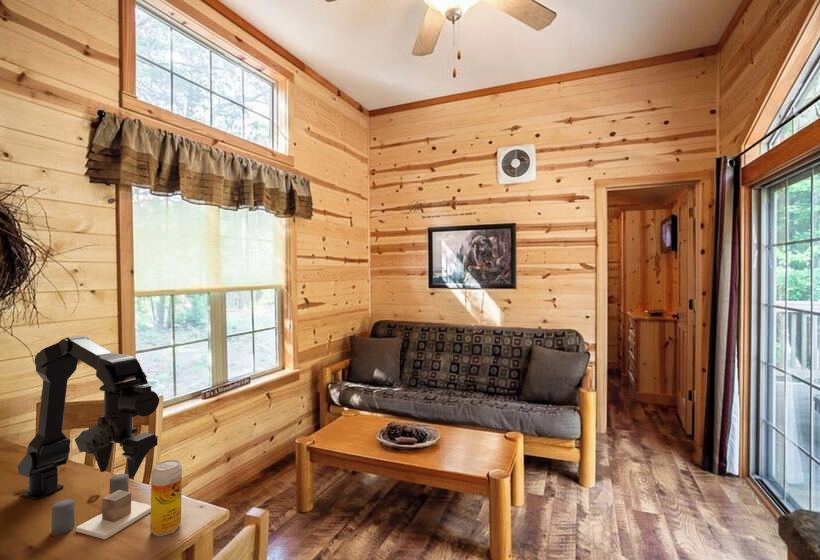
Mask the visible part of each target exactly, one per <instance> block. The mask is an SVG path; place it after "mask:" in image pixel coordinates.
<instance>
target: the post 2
mask: <svg viewBox="0 0 820 560" xmlns="http://www.w3.org/2000/svg"><path fill="white" fill-rule="evenodd" d="M129 479H130V478H129V475H128V473H120V474H115V475H113V476H112V477H110V478H109V494H108V495H110V494H112V493H114V492H116V491H118V490H123V491H127V492H129V481H130V480H129Z"/></svg>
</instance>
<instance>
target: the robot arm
mask: <svg viewBox="0 0 820 560" xmlns="http://www.w3.org/2000/svg"><path fill="white" fill-rule="evenodd" d="M79 361H81V362H82V363H84V364H85V365H87V366H89V367H91V368H93V369H94V370H95V377H96V378H97V379H98V380H100V382H102V385H101V386H100V387H99V391H102V392H104V393H103V394H104V395H103V396H104V397H103V400H104V401H103V415H100V416H99V418H97V424H96V425H95V426H93V427H90V428H88V429H85V430H82V431H81V433H80V434H79V435H78V436H77V437H75V438H74V442H75V444H76V446H77V448H78V451H79V452H80V453H87V454H89V455H91V454H93V457H94V458H95V461H96V464H97V466H98V469H99V472H100V473H104V472H106V471H107V469H108V467H109V466H108V465H109V463H110V458H111V455H112V451H113V450H112V449H113V447H114V444H115V443H116V444H120V445H122V448H121V449H122V451H123V452H122V453H121V455H122V456H123V457H125V458H126V460H127V474H128V475H129V479H132V478H135V476H136V474H137V473H138V471H139V468H140V466H141V465H142V463H143V461H144V460H145V458H146V457H147V455H148V453H149V451H150V450H152V449H154V447H156V446H158V444H159V443H158V442H159V440H158V437H159V436H158V435H156V434H155V433H149V432H142V433H138V428H137V427H134V426H133V425H134V417H137V416H139V417H148V416H150V415H152V414H154V412H155V411H156V410H157V409H158V407H159V404H160V397H159V394H158V393H156V392H155V391H153V390H152V386H151V385H148V383H149V382H148V380H147V379H148V378H147V375H146V373H145V372H144V370H143V368H142V366H141V364H140V362H139V360H138V359H137V358H136V357H135V356H132V355H130V354H125V353H115V352H114V353H113V352H111V351H110V350H108V349H106V348H104V347H102V346H101V345H99V344H97V343H95V342H93V341H92V340H90V339H89V337H87V336H84V335H77V336H69V337H65V338H62V339H61V340H59V341H58V342H56V343H53V344H51V345H49V346H47V347H45V348H42V349H40V351H39V352H37V353H36V354H35V357H34V365H35V372H36V373H37V375H38V376H39V377H40V378H41V379H42V390H41V396H40V398H41V399H40V408H39V419H38V429H37V433H36V435H35V436H34V437H33V438H32V440H31V441H30V442H29V444H28V446H27V449H26V454H25V456H24V457H23V458H22V460H21V461H20V462H19V463H18V465H17V472H18V474H19V475H21V476H23V477H26V478H27V490H26V491H23V492H21V493H20V496H21V497H26V498H29V499H34V500H39V499H41V498H43V497H45V496H47V495H50V494H52V493H55V492H58V491H59V490H62V489H63V488H65V486H64V485H63V484H59V467H60V466H65V465H66V464H67V462H68V459H69V456H70V452H71V447H70V444H71V439H70V438H68V437H67V436H66V435H65V434H64V432H63V425H64V417H65V408H66V407H65V405H66V399H67V398H66V397H67V388H68V380H69V378H70V377H72V376H73V374H74V373H75V372H76V371H77V369H78V368H77V367H78V363H79ZM136 433H138V434H137V435H134V434H136ZM132 435H134V436H132Z"/></svg>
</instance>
